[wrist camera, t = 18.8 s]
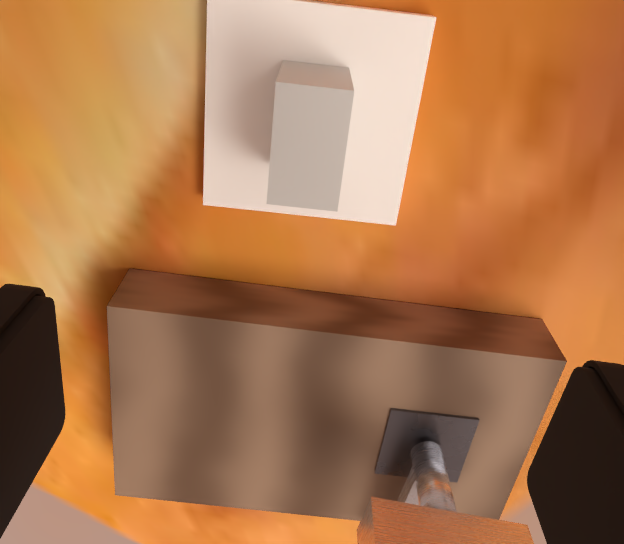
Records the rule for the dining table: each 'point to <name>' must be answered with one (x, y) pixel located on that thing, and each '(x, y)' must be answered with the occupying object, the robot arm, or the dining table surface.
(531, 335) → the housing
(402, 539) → the latch
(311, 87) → the cover
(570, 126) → the dining table surface
